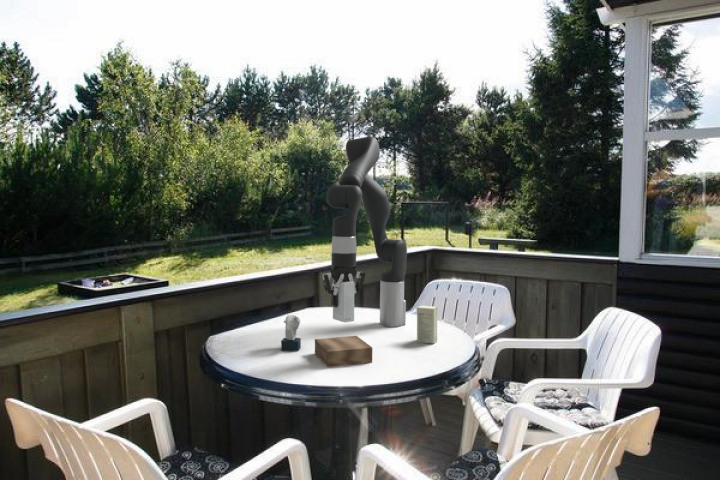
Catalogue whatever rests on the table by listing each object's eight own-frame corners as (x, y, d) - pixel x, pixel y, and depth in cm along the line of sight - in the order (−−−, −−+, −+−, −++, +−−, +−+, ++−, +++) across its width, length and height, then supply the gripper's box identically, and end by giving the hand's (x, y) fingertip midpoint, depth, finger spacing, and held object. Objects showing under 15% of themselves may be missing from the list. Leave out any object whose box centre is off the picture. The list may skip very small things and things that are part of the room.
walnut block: (356, 350, 174) (356, 335, 174) (372, 363, 161) (372, 347, 160) (314, 354, 169) (314, 339, 169) (327, 368, 156) (327, 351, 156)
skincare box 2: (437, 341, 185) (438, 306, 184) (433, 344, 181) (434, 308, 180) (419, 338, 188) (420, 304, 187) (415, 341, 184) (416, 306, 183)
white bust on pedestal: (301, 345, 177) (301, 313, 176) (297, 352, 169) (297, 318, 168) (285, 345, 178) (285, 312, 177) (279, 352, 170) (279, 318, 169)
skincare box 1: (354, 321, 163) (356, 282, 162) (343, 323, 160) (344, 283, 159) (342, 317, 168) (344, 279, 167) (331, 319, 165) (332, 280, 164)
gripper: (360, 249, 169) (359, 302, 170) (317, 250, 163) (317, 305, 164) (370, 251, 162) (369, 306, 163) (326, 253, 156) (325, 310, 157)
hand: (343, 305), depth 164 cm, fingers closed on skincare box 1, 5 cm apart
